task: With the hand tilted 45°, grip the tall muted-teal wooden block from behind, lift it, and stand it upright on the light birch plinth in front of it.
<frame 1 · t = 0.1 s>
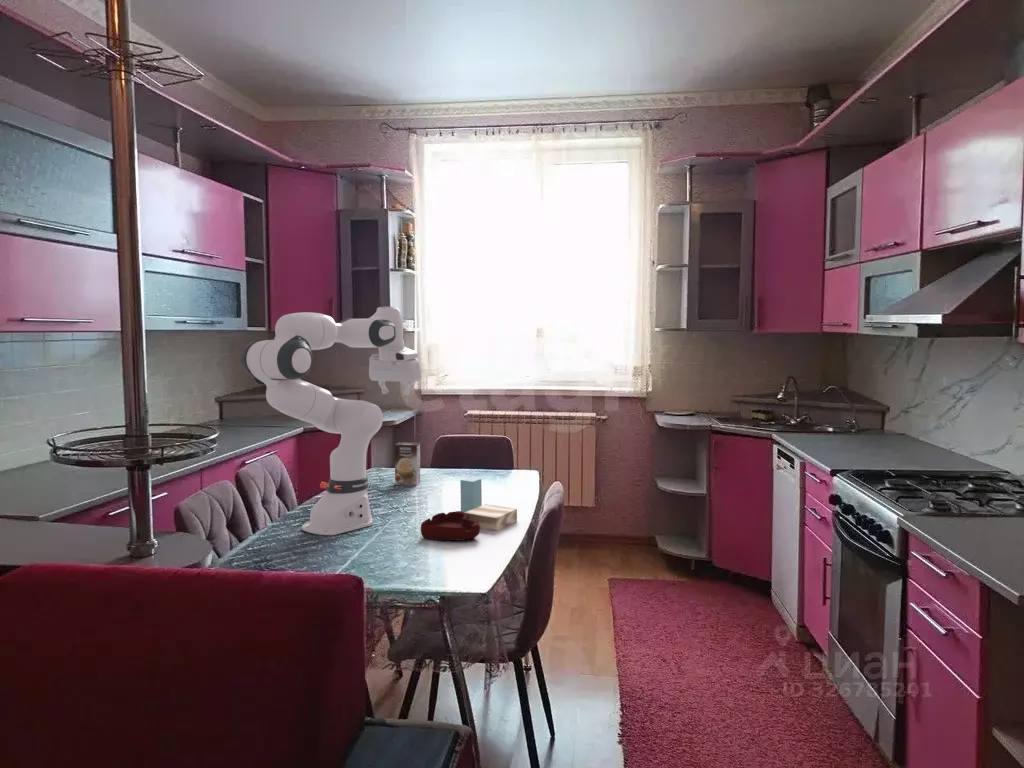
hand: (396, 394, 236), 39 cm above the table, tool pointing down, fingers open, 8 cm apart
plinth: (490, 523, 216), on the table
coffee box: (407, 484, 271), on the table
teal block: (471, 511, 230), on the table
ashtray: (447, 537, 204), on the table
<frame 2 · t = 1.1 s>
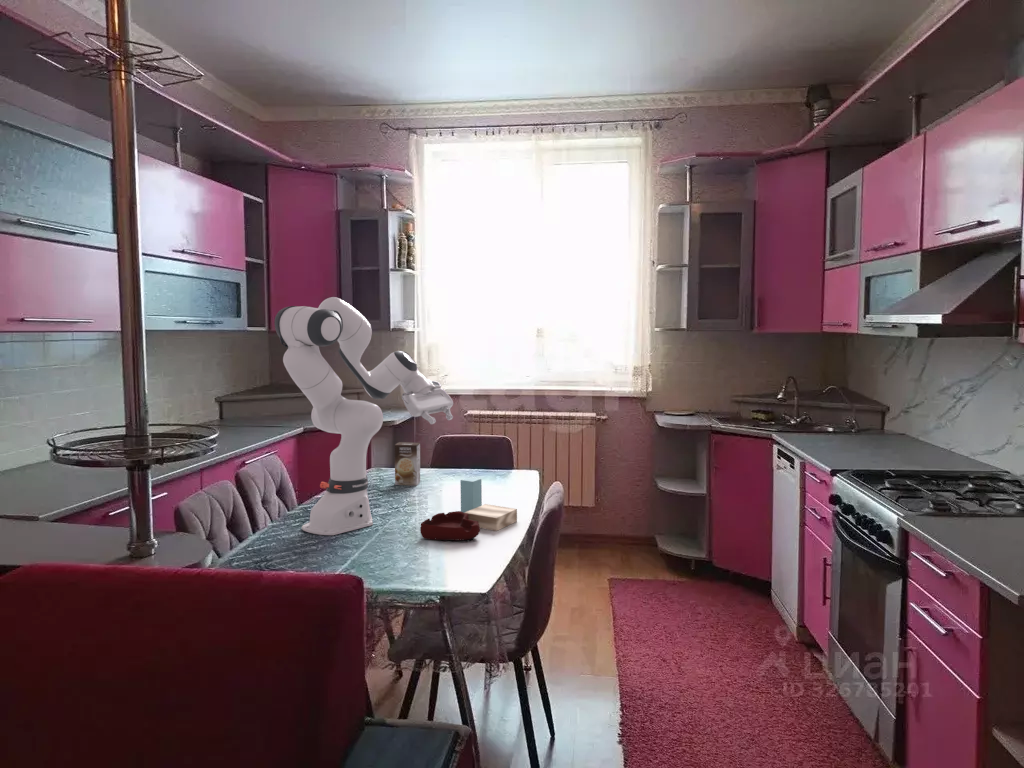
hand: (442, 420, 233), 30 cm above the table, tool tilted 45°, fingers open, 8 cm apart
nothing on the table moved.
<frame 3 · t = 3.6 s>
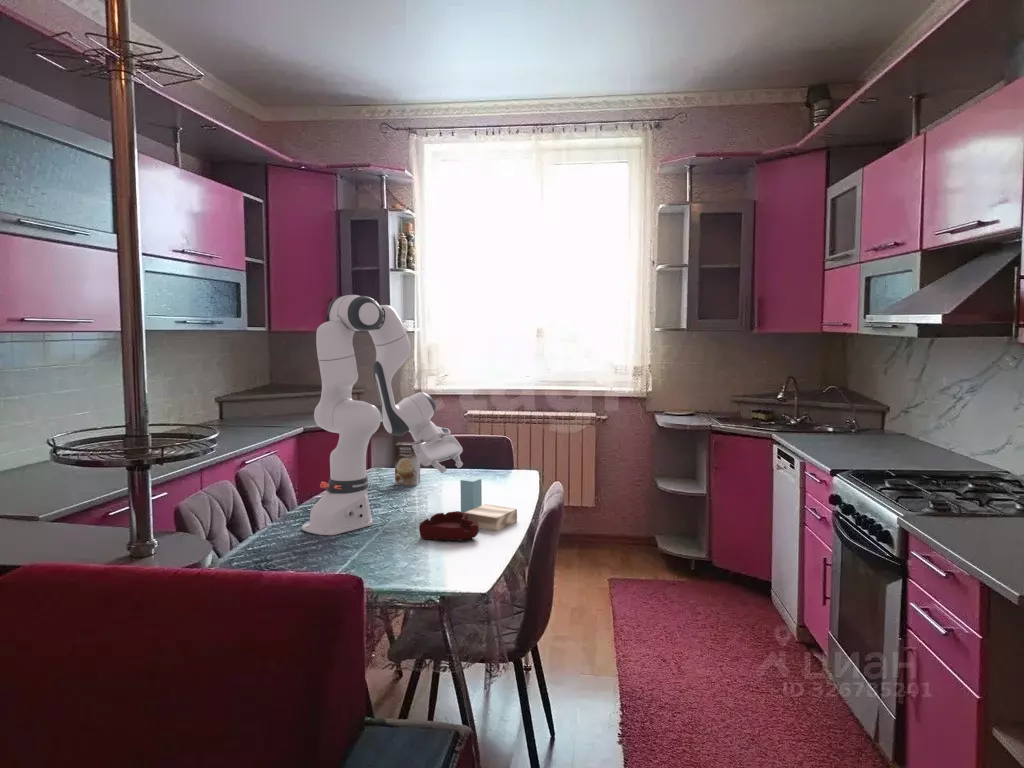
hand: (452, 469, 233), 14 cm above the table, tool tilted 45°, fingers open, 8 cm apart
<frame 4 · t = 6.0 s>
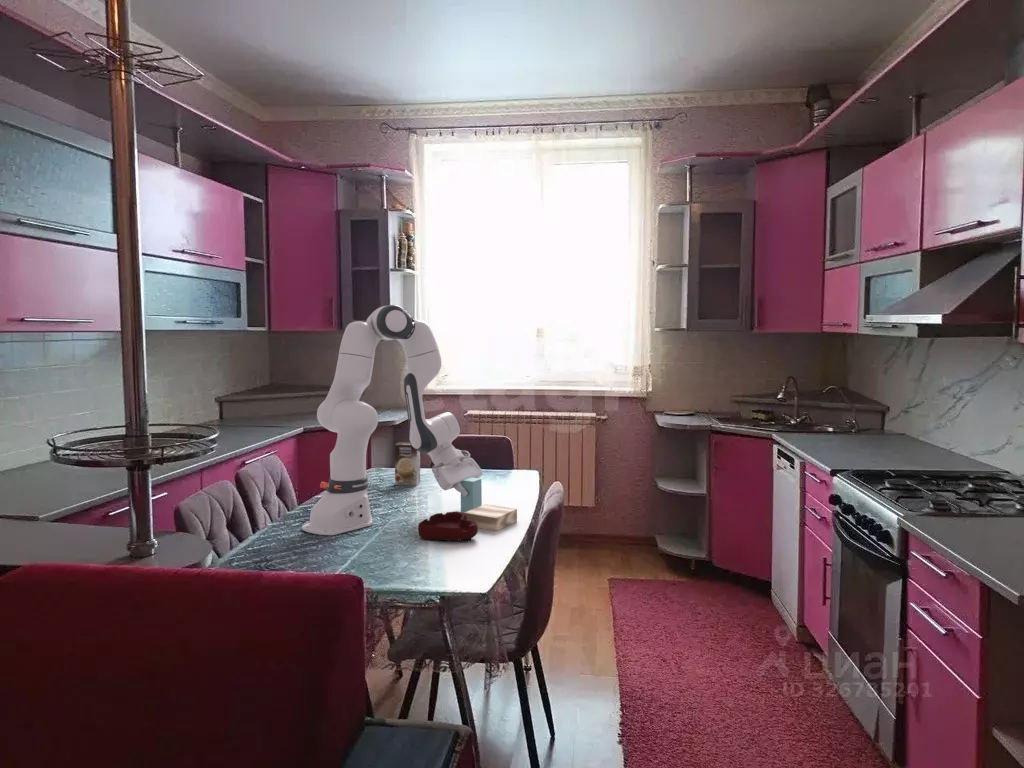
hand: (472, 493, 229), 6 cm above the table, tool tilted 45°, fingers closed on teal block, 5 cm apart
teal block: (471, 511, 230), on the table, touching gripper
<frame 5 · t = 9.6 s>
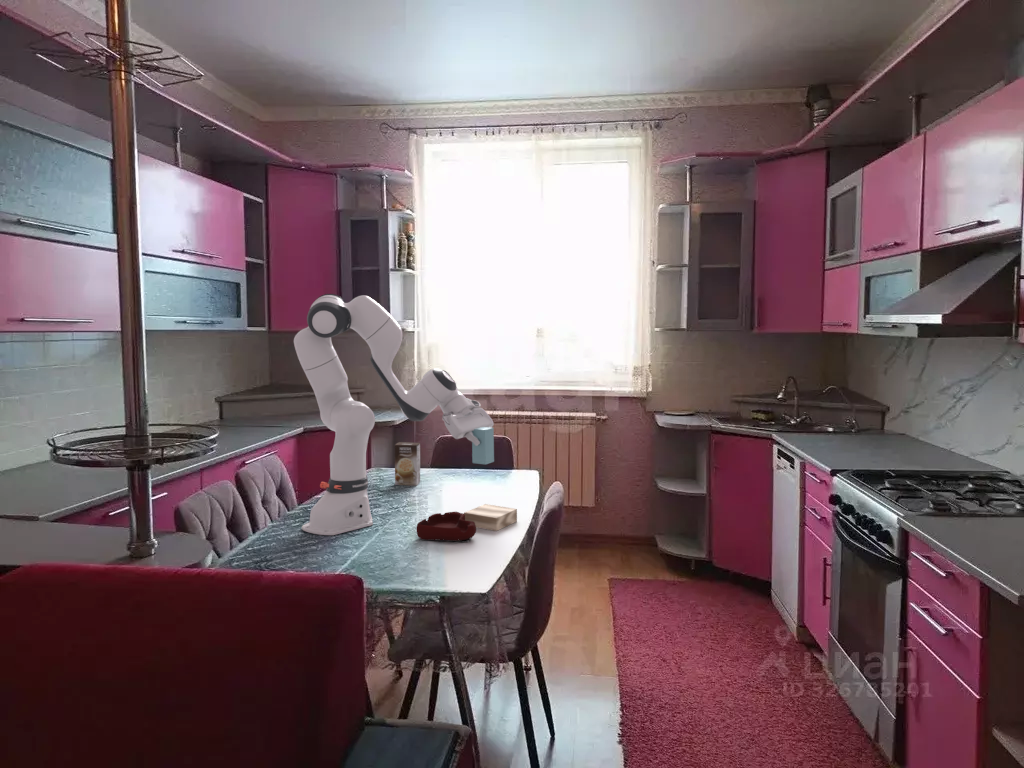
hand: (484, 442, 220), 25 cm above the table, tool tilted 45°, fingers closed on teal block, 5 cm apart
teal block: (483, 462, 221), point 18 cm above the table, touching gripper
when the fingers open (12 cm above the table, at t = 13.5 s): teal block drops 1 cm, resting on plinth.
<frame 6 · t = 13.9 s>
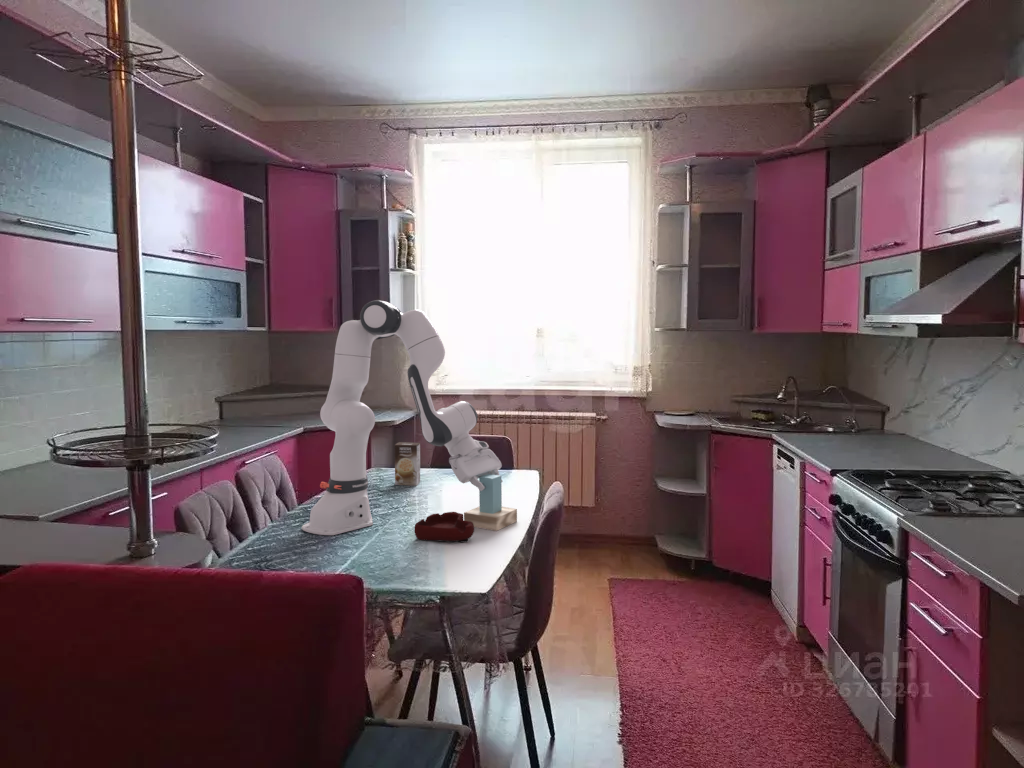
hand: (492, 486, 215), 12 cm above the table, tool tilted 45°, fingers open, 8 cm apart
teal block: (490, 510, 216), point 4 cm above the table, touching plinth
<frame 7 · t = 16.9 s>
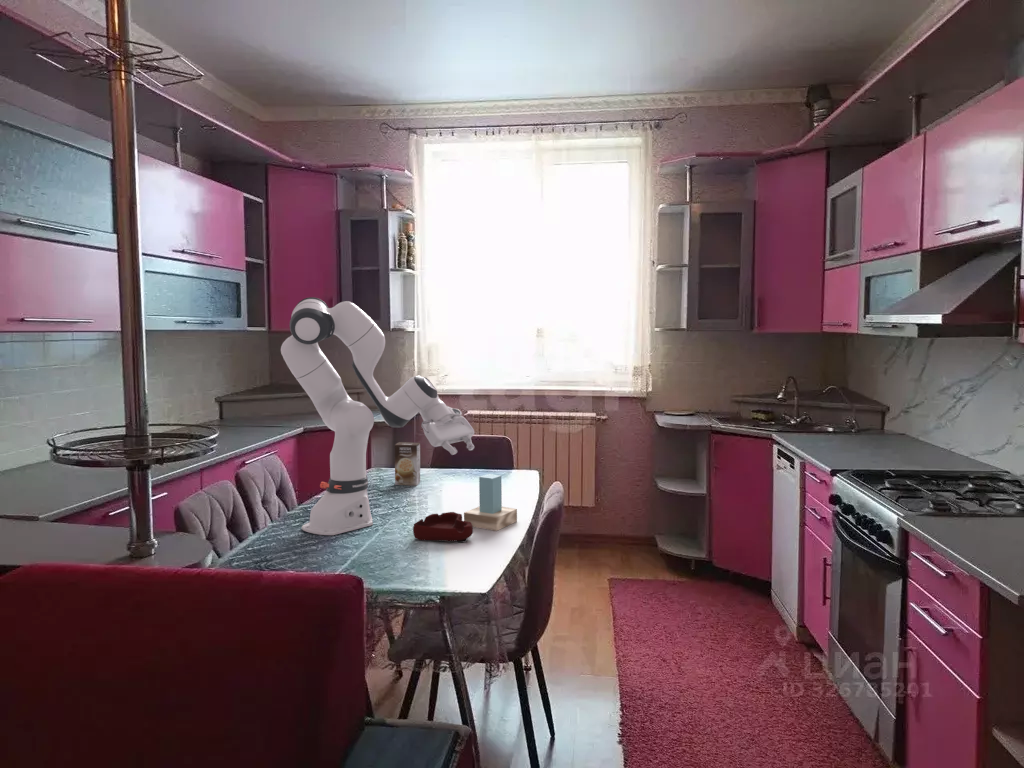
hand: (463, 451, 220), 22 cm above the table, tool tilted 45°, fingers open, 8 cm apart
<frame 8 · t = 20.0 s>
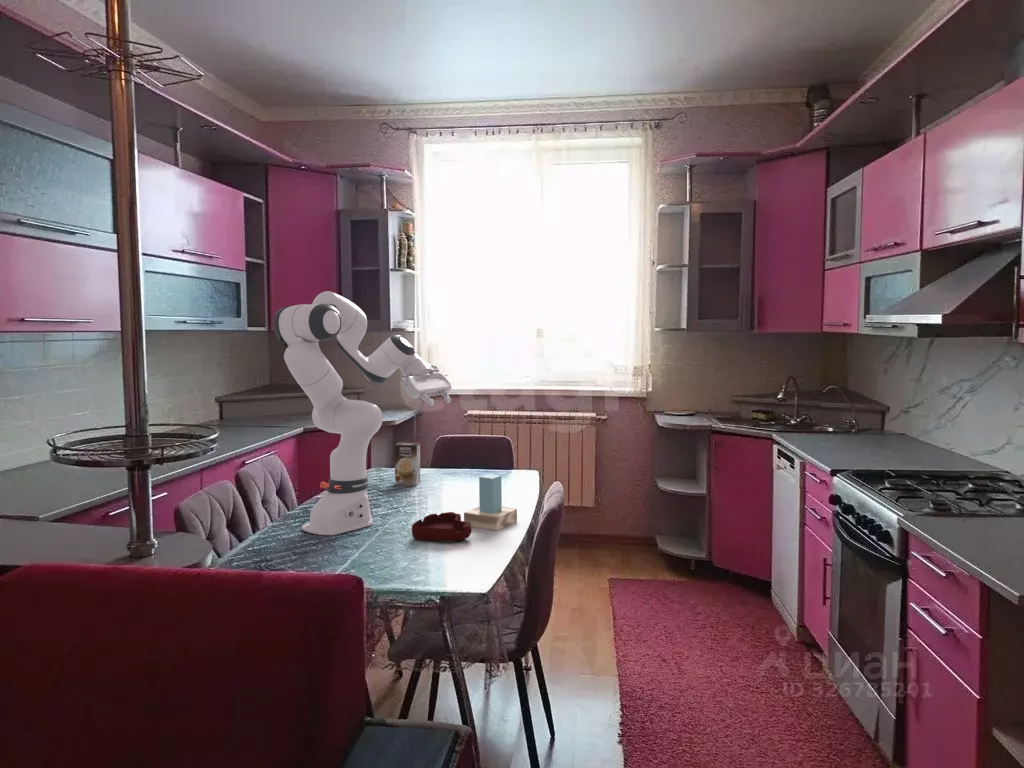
hand: (441, 403, 237), 35 cm above the table, tool tilted 45°, fingers open, 8 cm apart
at the end: teal block inside the target area on the plinth (0.0 cm from its centre), point 4.0 cm above the plinth's base; teal block tilted 0°; the gripper is holding nothing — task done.
